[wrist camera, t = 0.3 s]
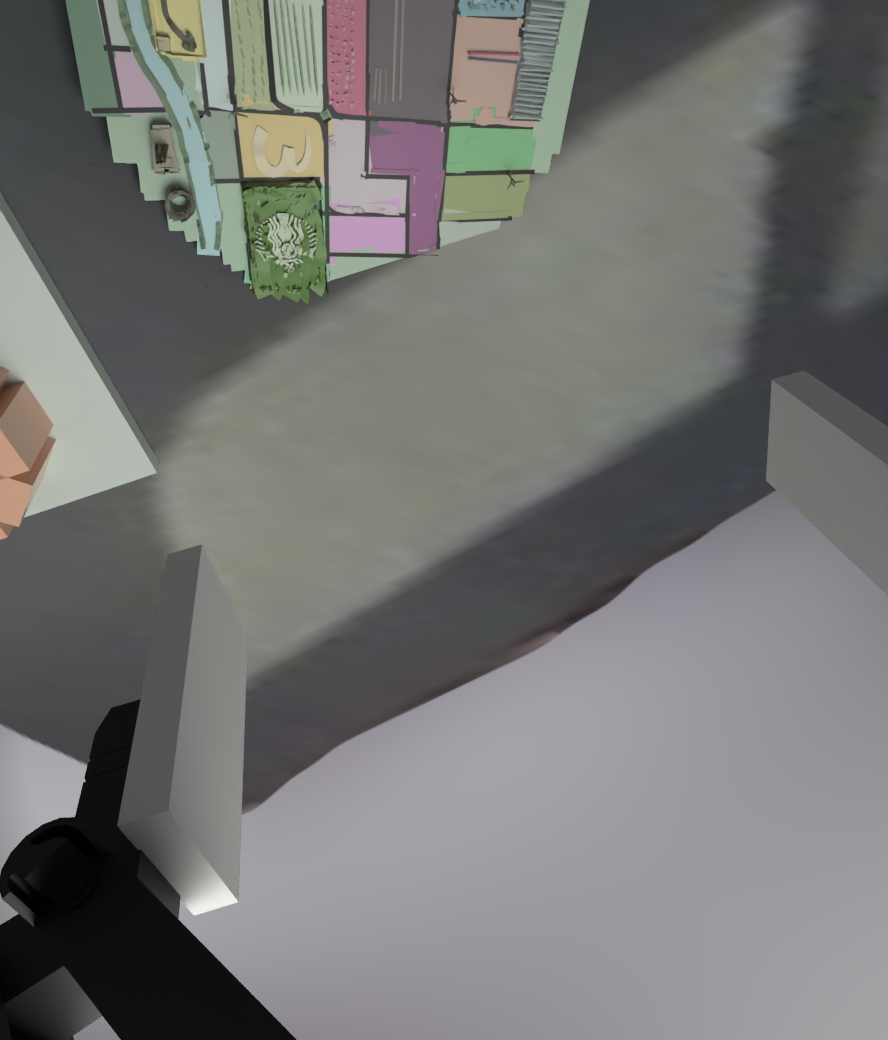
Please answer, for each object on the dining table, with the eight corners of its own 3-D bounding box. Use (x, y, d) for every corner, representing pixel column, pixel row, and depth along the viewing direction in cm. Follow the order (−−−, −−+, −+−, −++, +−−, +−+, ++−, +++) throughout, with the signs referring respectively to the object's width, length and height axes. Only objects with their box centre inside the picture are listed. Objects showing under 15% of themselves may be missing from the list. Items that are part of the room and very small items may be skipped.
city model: (212, 360, 44) (214, 415, 40) (-92, -150, 28) (-147, -155, 24) (605, 201, 44) (652, 238, 39) (521, -406, 28) (584, -460, 23)
